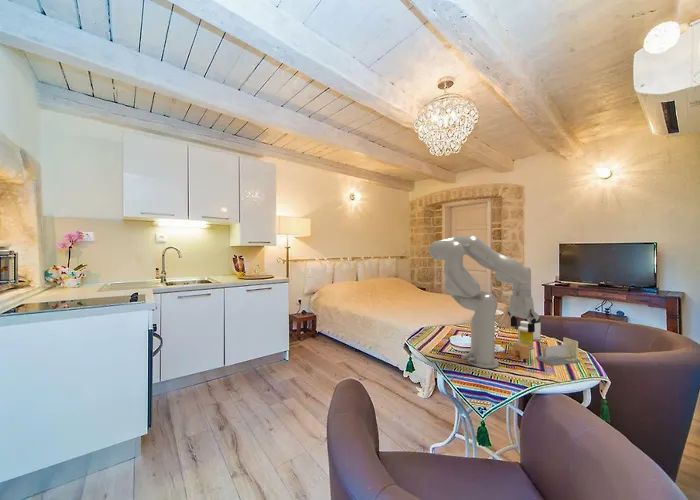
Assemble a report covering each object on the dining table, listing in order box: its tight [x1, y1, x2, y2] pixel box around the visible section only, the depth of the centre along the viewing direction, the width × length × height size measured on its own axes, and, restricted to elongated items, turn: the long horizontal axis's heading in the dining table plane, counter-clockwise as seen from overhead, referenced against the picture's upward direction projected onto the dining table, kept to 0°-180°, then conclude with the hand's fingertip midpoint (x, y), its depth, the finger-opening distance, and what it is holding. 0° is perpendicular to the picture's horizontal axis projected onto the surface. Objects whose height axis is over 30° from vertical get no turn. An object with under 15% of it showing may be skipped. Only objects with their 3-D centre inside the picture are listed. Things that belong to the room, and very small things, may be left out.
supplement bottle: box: [517, 320, 534, 350], centre depth 146 cm, size 7×7×13 cm
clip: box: [512, 342, 531, 360], centre depth 133 cm, size 4×5×6 cm
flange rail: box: [535, 337, 581, 367], centre depth 128 cm, size 16×8×9 cm, turn 105°
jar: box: [523, 316, 542, 341], centre depth 162 cm, size 9×8×12 cm
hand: (522, 329), depth 133 cm, fingers open, 9 cm apart
